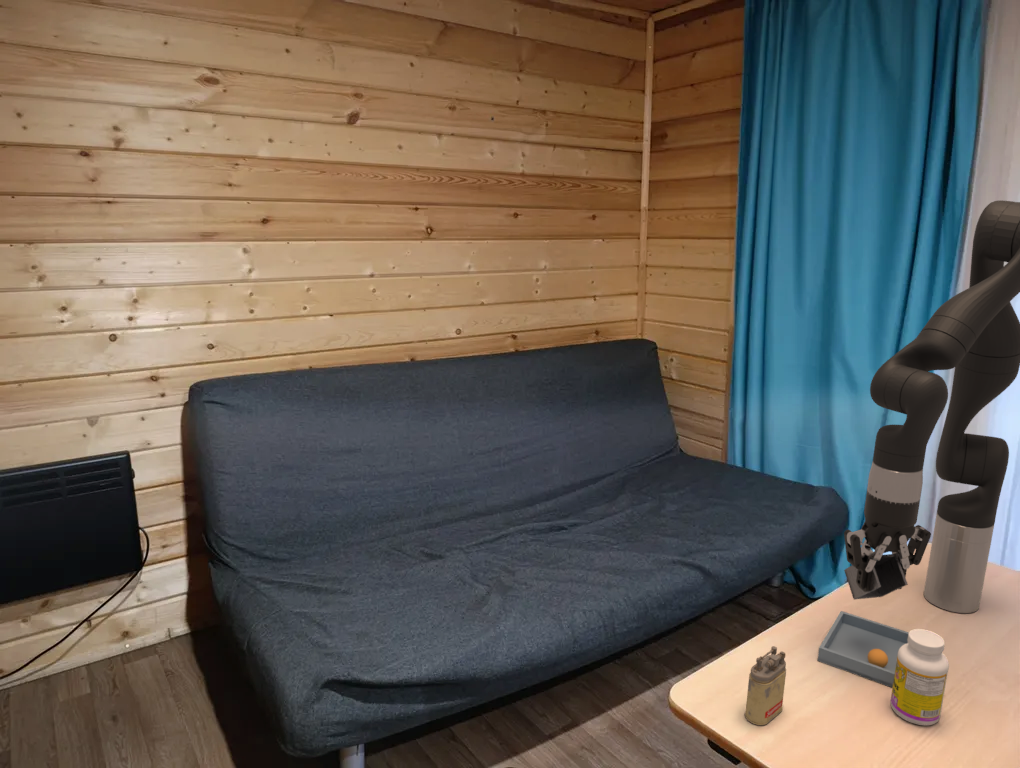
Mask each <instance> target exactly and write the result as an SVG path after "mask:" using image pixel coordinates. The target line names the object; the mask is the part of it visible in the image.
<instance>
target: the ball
mask: <svg viewBox="0 0 1020 768" xmlns="http://www.w3.org/2000/svg"><path fill="white" fill-rule="evenodd" d="M868 661H869V663H870V664H873V665H876V666H879V667H882V668H883V667H885V666H886V665H887V663H888V657H887V655H886V653H885V652H884V651H882V650H880V649H872V650H871V651H870V652H869V653H868Z"/></svg>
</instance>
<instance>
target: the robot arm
mask: <svg viewBox="0 0 1020 768" xmlns="http://www.w3.org/2000/svg"><path fill="white" fill-rule="evenodd" d="M971 249H972V250H971V259H970V260H971V261H970V273H969V276H970V277H969V284H968V285H969V287H968V288H966V289H965V290H963V291H961V292H959V293H957V294H956V295H954V296H952V297H951V298H949V299H948V300H946V301H945V302H944V303H942V304H941V305H940V306H939V307H938V308H937V309H936V310H935V312H934V313H933V315H932V316H931V317H930V318H929V319H928V321H927V322H926V324H925V325H924V326H923V328H922V329H921V331H920V332H919V333H918V335H917V336H916V337H915V338H914V339H913V340H911V342H909V343H908V344H906V345H905V346H903V347H902V348H901V349H900V350H899V351H897V352H896V353H895V354H894V355H892V356H891V357H890V358H889V359H887V360H886V361H885V362H884V363H883V364H881V366H880V367H879V368H878V369H877V371H876V372H875V373H874V375H873V376H872V379H871V383H870V385H869V386H870V388H869V394H870V397H871V400H873V403H875V404H876V405H877V406H879V407H881V408H883V409H887V410H889V411H893V412H896V413H901V414H903V415H906V419H905V420H904V421H905V422H904V423H903V424H886V425H883V426H881V427H880V428H878V431H877V433H876V435H875V442H874V449H873V457H872V463H871V467H870V470H869V474H868V479H867V481H868V482H867V488H866V495H865V503H864V510H863V514H864V523H863V525H862V526H861V528H860V529H858V530H855V531H852V530H851V529H846V530H845V531H844V532H843V536H844V538H843V539H844V544H845V556H846V561H847V562H848V563H849V564H850V565H851V566H852V565H853V566H854V567H855V568H856V569H858V571H857V579H856V583H857V585H858V586H859V587H860V588H861V589H862V590H863V591H864V592H869V591H870V585H871V578H872V572H871V571H872V569H873V567H874V565H875V563H876V561H879V560H880V559H881V557H882V555H884V554H885V553H889V552H890V553H891V554H896V555H897V556H898V559H899V562H900V565H901V567H902V570H903V573H904V575H905V578H906V577H907V570H908V569H909V568H910V566H912V565H915V566H918V565H920V564H921V561H922V559H923V557H924V554H925V551H926V549H927V546H928V544H929V542H930V539H931V537H932V542H931V547H930V551H929V553H930V554H929V558H928V563H927V564H928V566H927V571H926V577H925V583H924V588H923V589H924V590H923V597H924V598H925V599H926V600H927V601H928V602H929V603H930V604H932V605H934V606H935V607H937V608H940V609H943V610H945V611H948V612H952V613H959V614H970V613H971V614H972V613H974V612H976V611H978V610H979V608H980V604H981V599H982V593H983V588H984V583H985V578H986V573H987V567H988V561H989V556H990V550H991V546H992V539H993V533H994V529H995V523H996V518H997V517H996V516H997V510H998V507H999V502H1000V497H1001V496H1000V495H1001V492H1002V488H1003V484H1004V480H1005V477H1006V473H1007V469H1008V466H1009V465H1008V464H1009V457H1010V449H1009V444H1008V442H1007V441H1006V439H1004V438H1001V437H995V436H991V435H990V436H988V435H982V434H974V433H967V432H966V430H967V428H968V426H969V425H970V424H971V422H972V421H973V420H974V418H975V417H976V416H977V414H979V412H980V411H981V410H983V409H984V408H985V407H986V406H987V405H989V404H990V403H992V401H994V400H995V399H996V398H997V397H999V396H1000V395H1001V394H1002V393H1003V392H1005V391H1006V389H1008V388H1009V387H1010V386H1011V385H1012V383H1013V382H1014V381H1015V380H1016V379H1017V378H1018V377H1017V376H1018V373H1019V372H1020V371H1019V370H1020V320H1019V317H1018V315H1017V314H1016V313H1017V312H1016V311H1015V309H1014V307H1013V305H1012V303H1011V301H1012V300H1014V298H1016V297H1017V295H1019V293H1020V201H1014V200H1013V201H1012V200H994V201H992V202H990V203H989V204H987V205H986V206H985V207H984V209H983V210H982V212H981V214H980V215H979V217H978V219H977V223H976V226H975V230H974V234H973V240H972V248H971ZM1005 263H1006V264H1005ZM951 369H954V373H953V381H952V387H951V393H950V399H949V389H948V385H947V382H946V381H945V379H944V378H943V377H942V376H940V375H939V374H937V373H934V372H931V371H946V370H947V371H948V370H951ZM948 400H949V403H948ZM947 403H948V408H947V412H946V415H945V416H946V417H945V420H944V424H943V427H942V432H941V435H940V440H939V443H938V447H937V452H936V458H935V472H936V474H937V476H938V477H939V479H941V480H943V481H946V482H952V483H957V484H963V485H969V486H976V487H975V488H974V489H971V490H968V491H965V492H959V493H952V494H948V495H944V496H942V497H941V498H940V499H939V501H938V503H937V509H936V516H935V522H934V529H933V535H932V532H930V531H929V530H928V529H926V528H925V527H923V526H921V525H920V524H917V522H918V515H919V510H920V502H921V498H922V489H923V485H924V484H923V479H924V478H923V477H924V476H923V474H924V473H923V472H924V465H925V459H926V451H927V445H928V444H929V440H930V438H931V437H932V434H933V432H934V430H935V428H936V425H937V424H938V421H939V420H940V417H941V416H942V413H943V412H944V410H945V408H946V406H947ZM965 432H966V433H965ZM916 524H917V525H916ZM872 549H873V550H874V551H873V550H872ZM867 556H869V558H868V560H867V562H866V558H867ZM902 588H903V587H902ZM902 588H899V589H898V590H902Z"/></svg>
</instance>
